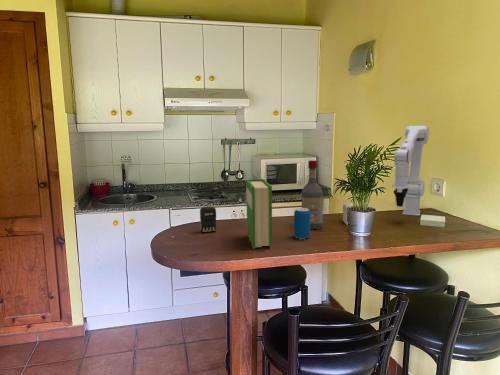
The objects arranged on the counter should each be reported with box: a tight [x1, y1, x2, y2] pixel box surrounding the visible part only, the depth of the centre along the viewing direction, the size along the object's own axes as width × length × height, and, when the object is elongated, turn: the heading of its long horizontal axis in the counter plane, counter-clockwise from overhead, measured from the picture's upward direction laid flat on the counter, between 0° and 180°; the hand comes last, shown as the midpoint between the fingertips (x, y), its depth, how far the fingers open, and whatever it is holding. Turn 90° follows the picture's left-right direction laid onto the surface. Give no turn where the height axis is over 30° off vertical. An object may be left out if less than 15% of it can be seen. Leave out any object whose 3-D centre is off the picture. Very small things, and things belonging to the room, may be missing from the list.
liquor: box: [301, 159, 324, 230], centre depth 174 cm, size 9×9×30 cm
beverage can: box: [293, 207, 311, 240], centre depth 160 cm, size 6×6×12 cm
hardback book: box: [245, 178, 273, 248], centre depth 154 cm, size 18×7×24 cm, turn 7°
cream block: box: [394, 197, 406, 211], centre depth 179 cm, size 4×4×5 cm
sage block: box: [419, 214, 446, 228], centre depth 179 cm, size 10×10×2 cm
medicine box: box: [342, 202, 353, 226], centre depth 181 cm, size 8×4×9 cm, turn 179°
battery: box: [199, 205, 217, 231], centre depth 170 cm, size 7×4×11 cm, turn 102°
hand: (400, 205), depth 179 cm, fingers closed on cream block, 4 cm apart
